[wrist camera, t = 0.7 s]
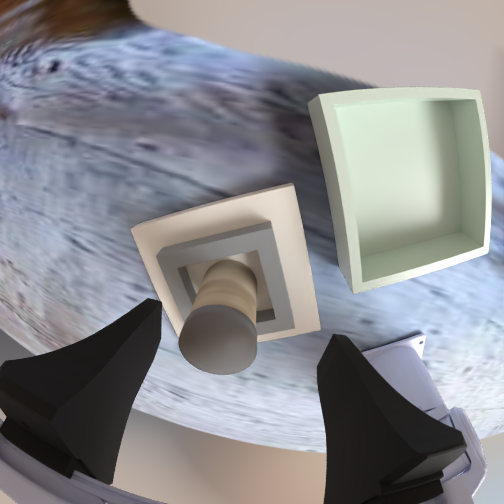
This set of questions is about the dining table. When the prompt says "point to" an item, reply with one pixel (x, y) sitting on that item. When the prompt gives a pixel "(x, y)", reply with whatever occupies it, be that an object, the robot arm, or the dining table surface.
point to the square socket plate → (235, 257)
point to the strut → (222, 320)
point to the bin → (404, 180)
